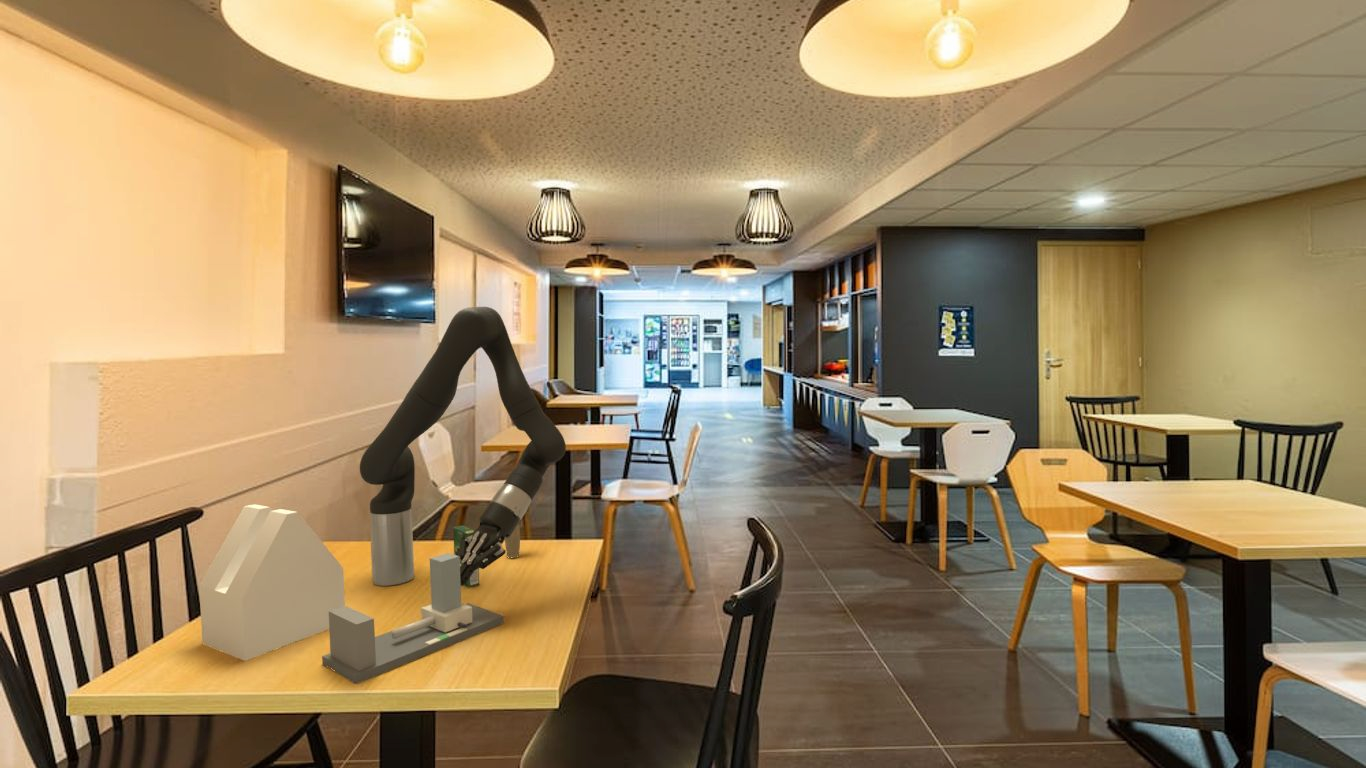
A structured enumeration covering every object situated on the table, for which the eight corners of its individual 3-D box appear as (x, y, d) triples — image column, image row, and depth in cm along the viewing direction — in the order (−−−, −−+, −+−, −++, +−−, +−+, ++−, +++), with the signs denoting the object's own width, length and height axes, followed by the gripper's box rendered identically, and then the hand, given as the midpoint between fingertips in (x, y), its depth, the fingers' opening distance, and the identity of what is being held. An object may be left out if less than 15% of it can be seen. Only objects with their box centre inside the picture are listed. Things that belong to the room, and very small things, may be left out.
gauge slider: (382, 637, 123) (379, 568, 123) (448, 612, 135) (446, 550, 134) (411, 650, 117) (408, 579, 117) (478, 624, 128) (476, 558, 128)
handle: (515, 561, 173) (513, 505, 173) (497, 558, 176) (495, 502, 176) (528, 556, 177) (526, 501, 177) (510, 553, 181) (508, 499, 180)
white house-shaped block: (245, 661, 119) (238, 524, 118) (202, 644, 126) (195, 515, 125) (345, 623, 135) (340, 502, 134) (302, 609, 143) (297, 495, 142)
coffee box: (481, 585, 156) (479, 530, 155) (469, 588, 154) (467, 532, 153) (465, 577, 162) (463, 524, 161) (454, 580, 160) (452, 526, 159)
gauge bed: (322, 664, 117) (320, 611, 116) (468, 609, 141) (467, 566, 140) (355, 683, 109) (353, 627, 109) (504, 622, 133) (502, 576, 133)
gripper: (475, 496, 142) (426, 567, 133) (515, 504, 134) (465, 580, 125) (497, 515, 147) (450, 586, 138) (536, 524, 139) (489, 599, 130)
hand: (457, 583), depth 132 cm, fingers closed
